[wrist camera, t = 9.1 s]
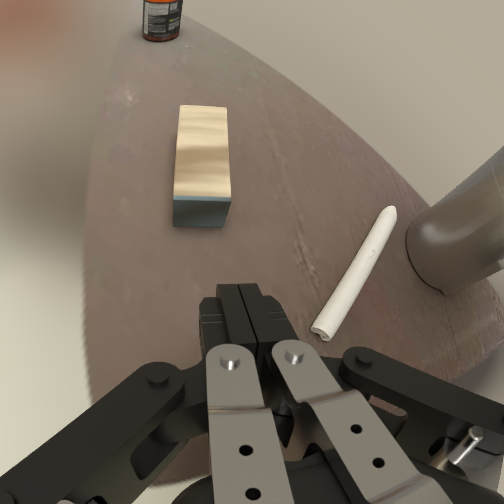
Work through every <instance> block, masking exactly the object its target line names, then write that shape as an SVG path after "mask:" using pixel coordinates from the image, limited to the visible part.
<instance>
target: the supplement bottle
mask: <svg viewBox="0 0 504 504" xmlns="http://www.w3.org/2000/svg"><path fill="white" fill-rule="evenodd" d="M182 4H183V0H144V3H143V24H142V25H143V30H142V31H143V36H144V37H145V38H146V39H148V40H151V41H166V40H170V39H172V38H174V37H176V36H177V35H178V34H179V29H180V20H181V12H182Z"/></svg>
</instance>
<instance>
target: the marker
mask: <svg viewBox="0 0 504 504" xmlns="http://www.w3.org/2000/svg"><path fill="white" fill-rule="evenodd" d="M396 220H397V214H396V208H395V207H394V206H388V207H386V208H385V209H384V210H382V212H381V213H380V214H379V216H378V218H377V220H376V221H375V223H374V225H373V227H372V229H371V230H370V232H369V234H368V236H367V237H366V239H365V241H364V243H363V244H362V246H361V248H360V249H359V251H358V253H357V255H356V256H355V258H354V260H353V261H352V263H351V265H350V266H349V268H348V270H347V271H346V273H345V275H344V276H343V278H342V279H341V281H340V283H339V284H338V286H337V287H336V289H335V291H334V292H333V294H332V295H331V297H330V298H329V300H328V302H327V303H326V305H325V306H324V308H323V309H322V311H321V312H320V314H319V315H318V317H317V318H316V320H315V321H314V323H313V325H312V327H311V332H312V331H313V332H314V333H318V334H319V333H320V337H321V338H322V340H324V341H330V340H331V338H332V337H333V336H334V334H335V332H336V331H337V329H338V328H339V326H340V324H341V323H342V321H343V319H344V318H345V316H346V314H347V313H348V311H349V309H350V308H351V306H352V304H353V302H354V301H355V299H356V297H357V295H358V294H359V292H360V290H361V288H362V287H363V285H364V283H365V281H366V279H367V277H368V276H369V274H370V272H371V270H372V268H373V266H374V265H375V263H376V261H377V259H378V257H379V255H380V253H381V251H382V249H383V247H384V245H385V243H386V241H387V239H388V237H389V235H390V233H391V231H392V229H393V227H394V225H395V223H396ZM316 331H317V332H316Z"/></svg>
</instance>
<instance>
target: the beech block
mask: <svg viewBox="0 0 504 504" xmlns="http://www.w3.org/2000/svg"><path fill="white" fill-rule="evenodd" d="M230 204H231V188H230V170H229V151H228V132H227V110H226V108H223V107H209V106H192V105H180V115H179V125H178V136H177V148H176V161H175V177H174V195H173V227H223V226H224V223H225V219H226V216H227V213H228V210H229V207H230Z"/></svg>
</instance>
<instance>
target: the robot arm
mask: <svg viewBox="0 0 504 504" xmlns="http://www.w3.org/2000/svg"><path fill="white" fill-rule="evenodd" d="M406 242H407V250H408V254H409V257H410V260H411V262H412V265H413V266H414V268H415V270H416V272H417V273H418V274H419V276H420V277H421V278H422V279H423V280H424V281H425V282H426V283H427V284H429V285H430V286H432V287H434V288H437V289H439V290H441V291H442V292H443V294H444V295H445V296H447V295H449V294H451V293H454V292H456V291H458V290H460V289H463V288H465V287H467V286H469V285H471V284H473V283H476V282H478V281H480V280H482V279H484V278H486V277H488V276H490V275H492V274H494V273H496V272H498V271H500V270H502V269H504V146H503V147H502V148H501V149H500V150H498V151H497V152H496V153H495V154H494V155H493V156H492V157H491V158H490V159H488V160H487V161H486V162H485V163H484V164H483V165H482V166H480V167H479V168H478V169H477V170H476V171H475V172H474V173H472V174H471V175H470V176H469V177H468V178H466V179H465V180H464V181H463V182H462V183H461V184H459V185H458V186H457V187H456V188H455V189H453V190H452V191H451V192H450V193H449V194H447V195H446V196H445V197H444V198H442V199H441V200H440V201H439V202H437V203H436V204H435V205H434V206H432V207H431V208H430V209H429V210H427V211H426V212H424V213H423V214H422V215H420V216H419V218H417V219H416V220H415V221H414V222H413V223H411V225H410V226H409V228H408V232H407V239H406ZM199 338H200V346H201V354H202V360H201V362H199V363H198V364H197V365H195V366H193V367H191V368H188V369H185V370H181V371H180V369H178V368H177V367H176V366H174V365H172V364H169V363H165V362H152V363H148V364H145V365H143V366H141V367H140V368H139V369H137V370H136V371H135V372H134V373H132V374H131V375H130V376H129V377H127V378H126V379H125V380H124V381H122V382H121V383H120V384H119V385H118V386H116V387H115V388H114V389H113V390H111V391H110V392H109V393H108V394H106V395H105V396H104V397H103V398H101V399H100V400H99V401H97V402H96V403H95V404H94V405H92V406H91V407H90V408H89V409H87V410H86V411H85V412H84V413H82V414H81V415H80V416H79V417H77V418H76V419H75V420H74V421H72V422H71V423H70V424H68V425H67V426H66V427H65V428H63V429H62V430H61V431H60V432H58V433H57V434H56V435H54V436H53V437H52V438H50V439H49V440H48V441H47V442H45V443H44V444H43V445H41V446H40V447H39V448H38V449H36V450H35V451H34V452H32V453H31V454H30V455H28V457H26V458H25V459H23V460H22V461H21V462H19V463H18V464H17V465H16V466H14V467H13V468H11V469H10V470H9V471H8V472H6V473H5V474H3V475H2V476H1V477H0V504H131V503H133V502H134V501H135V500H136V499H137V498H138V496H139V495H140V494H141V493H142V492H143V491H144V490H145V489H146V488H147V487H148V486H149V485H150V484H151V483H152V482H153V481H154V480H155V479H156V477H157V476H158V475H159V474H160V473H161V472H162V471H163V470H164V469H165V468H166V467H167V465H168V464H169V463H170V462H171V461H172V460H173V459H174V458H175V457H176V455H177V454H178V453H179V452H180V451H181V450H182V449H183V447H184V446H185V445H186V444H187V442H188V440H189V438H192V437H195V436H198V435H201V434H204V433H207V432H208V450H209V466H210V476H207V477H205V478H203V479H200V480H198V481H197V482H195V483H193V484H192V485H190V486H189V487H187V488H186V489H185V490H184V491H182V492H181V493H180V494H179V495H178V496H177V497H176V498H175V500H174V501H173V502H172V504H504V497H503V496H502V495H501V494H499V493H497V488H498V483H499V479H500V474H501V468H502V462H503V456H504V405H503V404H500V403H498V402H495V401H492V400H490V399H488V398H485V397H483V396H480V395H478V394H474V393H472V392H470V391H468V390H465V389H463V388H460V387H458V386H455V385H453V384H451V383H448V382H446V381H443V380H441V379H439V378H436V377H434V376H431V375H429V374H427V373H424V372H422V371H420V370H417V369H415V368H413V367H410V366H408V365H406V364H403V363H401V362H399V361H397V360H394V359H392V358H390V357H388V356H385V355H383V354H381V353H379V352H376V351H374V350H372V349H369V348H366V347H352V348H349V349H348V350H346V351H345V353H344V355H343V358H342V359H341V358H330V357H322V356H319V355H318V354H317V352H316V351H315V349H314V348H313V347H312V346H310V345H309V344H307V343H305V342H302V341H299V339H298V337H297V335H296V333H295V331H294V329H293V327H292V325H291V324H290V322H289V320H288V319H287V316H286V314H285V312H284V310H283V308H282V306H281V305H280V303H279V302H278V301H277V300H276V299H274V298H273V297H272V296H262V294H261V291H260V289H259V287H258V285H257V284H256V283H251V284H217V287H216V297H205V298H203V300H202V302H201V303H200V305H199ZM371 395H373V396H375V397H378V398H380V399H382V400H384V401H386V402H388V403H390V404H393V405H395V406H397V407H399V408H401V409H403V410H405V411H406V412H407V414H406V415H405V416H396V415H394V414H391V413H389V412H387V411H385V410H383V409H381V408H379V407H376V406H374V405H372V404H370V403H368V401H369V399H370V397H371Z"/></svg>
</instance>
